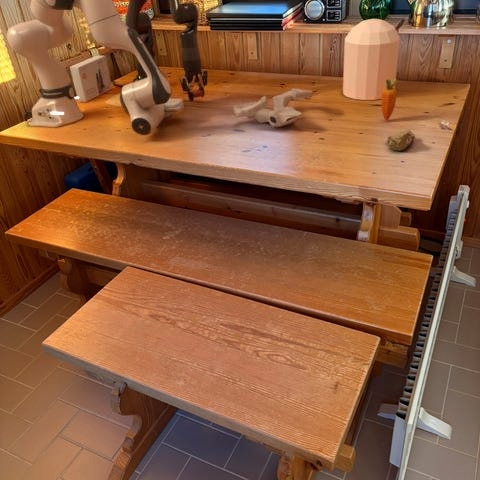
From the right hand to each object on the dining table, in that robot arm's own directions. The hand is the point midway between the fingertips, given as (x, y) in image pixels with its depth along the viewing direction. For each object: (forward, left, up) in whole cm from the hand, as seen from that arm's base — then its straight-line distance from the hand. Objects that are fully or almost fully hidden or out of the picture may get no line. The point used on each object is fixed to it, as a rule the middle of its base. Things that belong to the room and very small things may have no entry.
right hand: (196, 98), depth 198 cm
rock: (+92, -7, -2) cm, 92 cm away
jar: (-3, -17, -2) cm, 18 cm away
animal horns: (+46, -7, -2) cm, 46 cm away
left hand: (-4, -16, +4) cm, 17 cm away
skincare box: (-56, -10, -2) cm, 57 cm away
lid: (0, 0, +2) cm, 2 cm away
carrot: (+80, +11, -2) cm, 80 cm away
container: (+61, +39, -2) cm, 72 cm away
